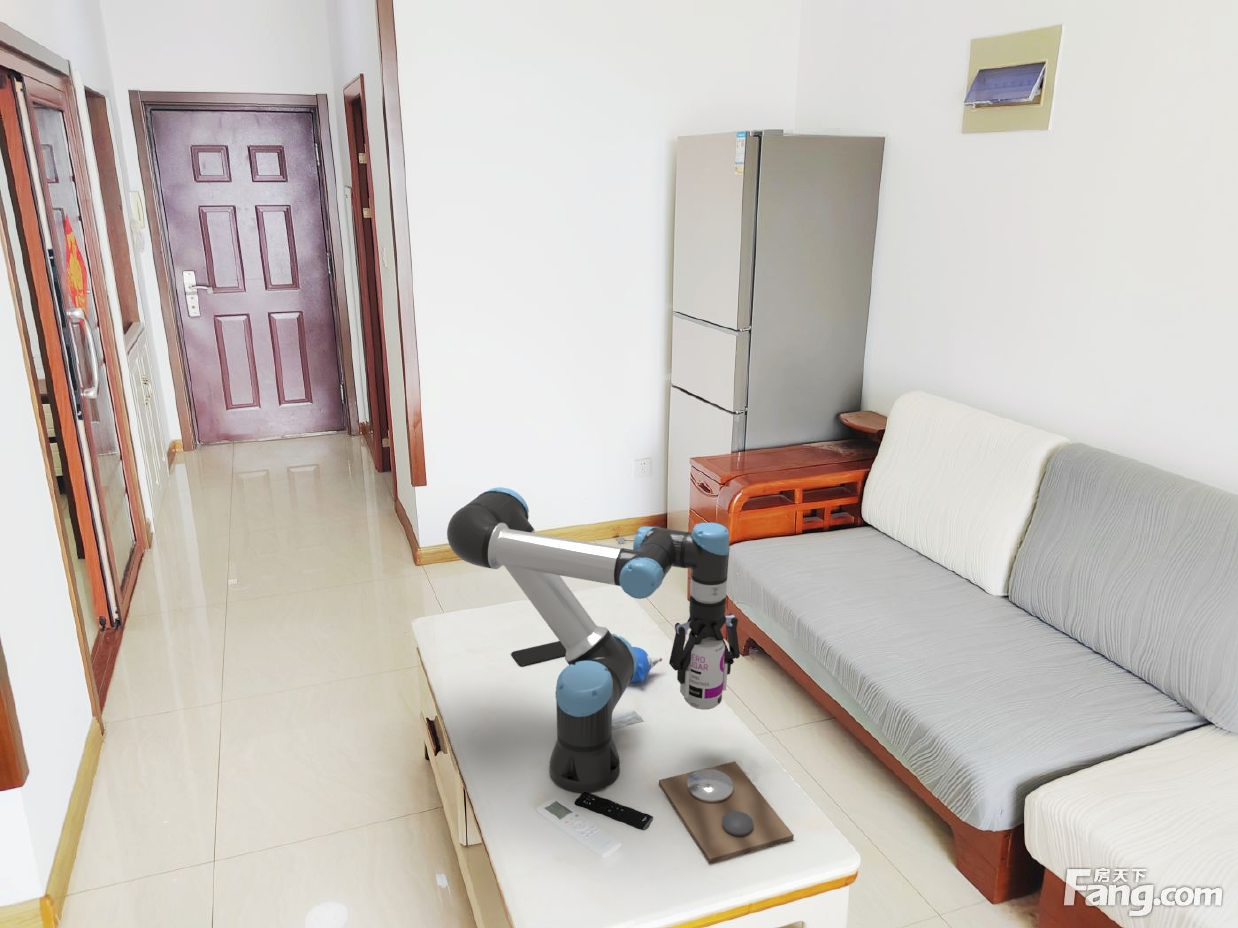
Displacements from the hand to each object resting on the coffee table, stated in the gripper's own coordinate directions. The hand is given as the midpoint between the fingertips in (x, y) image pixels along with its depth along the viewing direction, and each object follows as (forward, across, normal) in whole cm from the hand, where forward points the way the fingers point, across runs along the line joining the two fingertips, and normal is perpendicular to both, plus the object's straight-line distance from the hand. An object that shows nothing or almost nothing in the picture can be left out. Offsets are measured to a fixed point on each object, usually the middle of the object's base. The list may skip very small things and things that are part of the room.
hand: (703, 690), depth 190 cm
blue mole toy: (+17, -1, +34) cm, 38 cm away
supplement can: (+3, 0, 0) cm, 3 cm away
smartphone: (+17, -20, +54) cm, 60 cm away
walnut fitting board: (+16, -4, -18) cm, 25 cm away
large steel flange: (+15, -4, -12) cm, 20 cm away
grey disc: (+15, -4, -24) cm, 29 cm away
